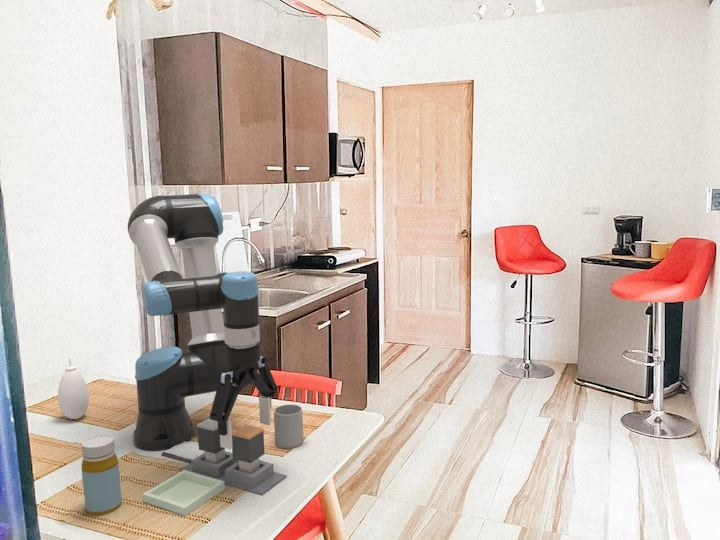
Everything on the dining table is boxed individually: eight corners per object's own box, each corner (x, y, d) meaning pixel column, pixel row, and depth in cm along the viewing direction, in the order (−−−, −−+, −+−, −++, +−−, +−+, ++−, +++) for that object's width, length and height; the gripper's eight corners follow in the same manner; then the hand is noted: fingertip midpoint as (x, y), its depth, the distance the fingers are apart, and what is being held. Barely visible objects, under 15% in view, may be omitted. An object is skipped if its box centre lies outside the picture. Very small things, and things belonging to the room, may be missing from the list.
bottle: (92, 501, 134) (86, 434, 131) (126, 498, 134) (120, 433, 132) (81, 518, 127) (74, 449, 124) (116, 516, 127) (110, 447, 125)
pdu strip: (149, 464, 150) (145, 416, 148) (176, 449, 157) (173, 403, 156) (262, 497, 133) (259, 444, 131) (287, 479, 141) (284, 428, 139)
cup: (284, 451, 155) (283, 417, 154) (264, 438, 163) (262, 406, 161) (309, 443, 159) (307, 410, 158) (288, 431, 167) (286, 399, 166)
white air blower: (96, 414, 182) (90, 354, 179) (79, 424, 174) (73, 362, 171) (71, 412, 183) (65, 353, 180) (54, 423, 175) (48, 361, 173)
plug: (233, 479, 139) (231, 432, 138) (248, 469, 144) (245, 424, 142) (251, 484, 137) (249, 436, 135) (265, 474, 141) (263, 428, 140)
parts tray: (143, 504, 132) (142, 494, 131) (184, 479, 142) (183, 469, 142) (185, 518, 126) (184, 508, 126) (225, 491, 136) (224, 481, 136)
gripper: (216, 363, 123) (222, 462, 127) (290, 331, 144) (292, 417, 148) (188, 357, 126) (194, 454, 130) (264, 327, 148) (267, 411, 152)
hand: (246, 435), depth 139 cm, fingers open, 13 cm apart
